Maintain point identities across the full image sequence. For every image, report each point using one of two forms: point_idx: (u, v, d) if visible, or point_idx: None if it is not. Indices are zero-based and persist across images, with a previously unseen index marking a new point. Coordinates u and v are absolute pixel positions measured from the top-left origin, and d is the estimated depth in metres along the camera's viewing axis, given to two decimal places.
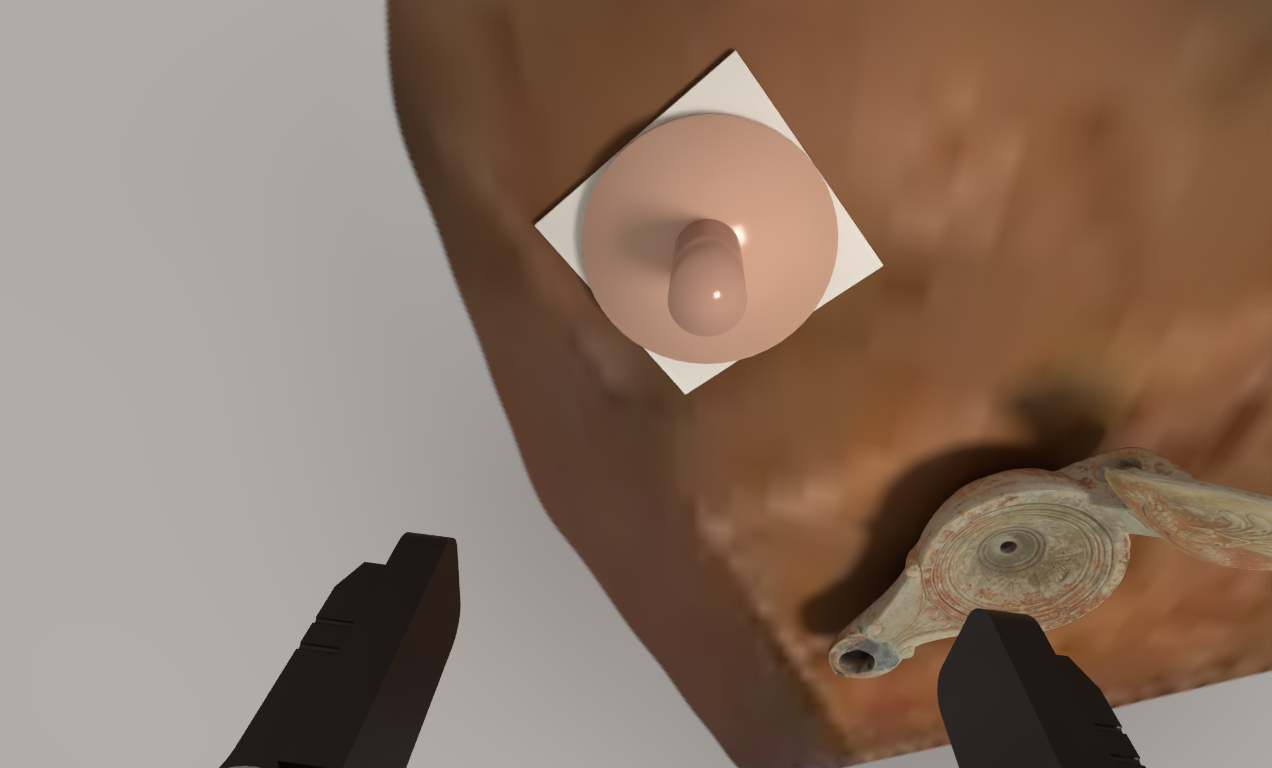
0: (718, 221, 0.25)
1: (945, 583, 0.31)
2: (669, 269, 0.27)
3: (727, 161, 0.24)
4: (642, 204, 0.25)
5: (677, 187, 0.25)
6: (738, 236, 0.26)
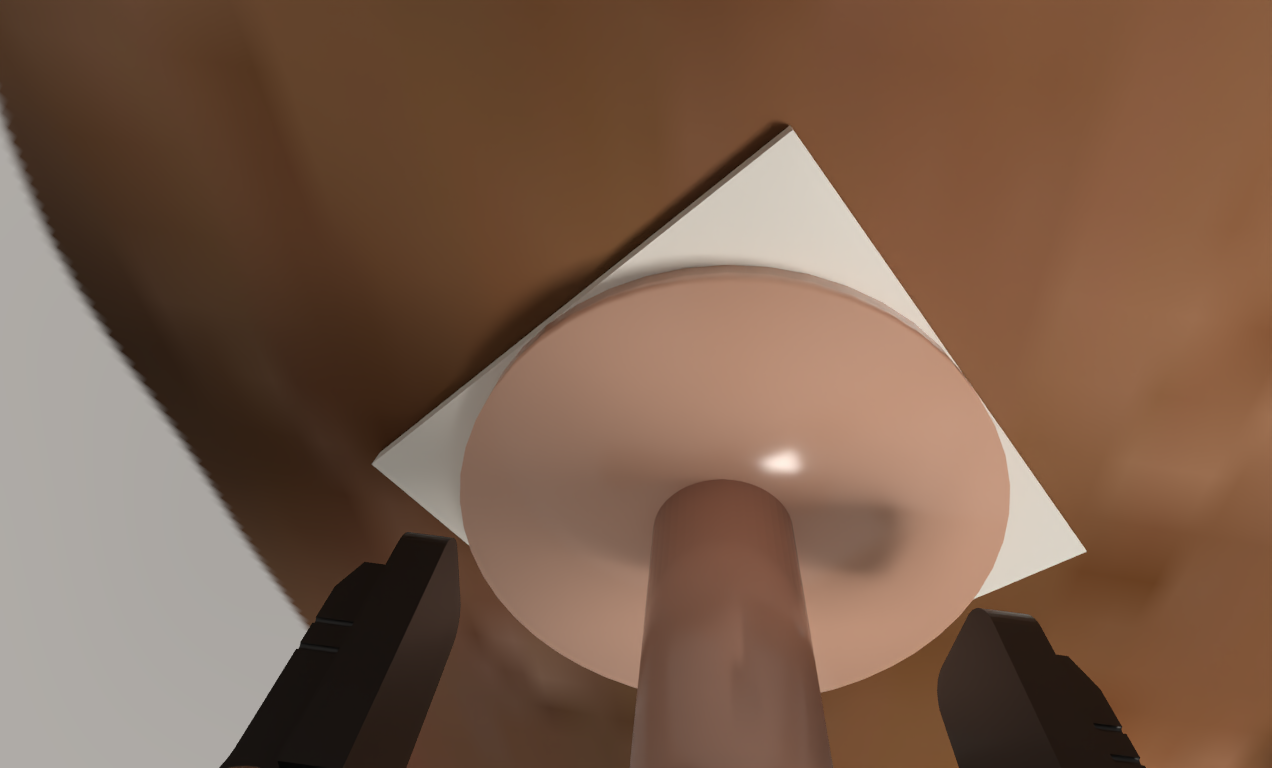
0: (747, 487, 0.12)
1: None
2: (644, 560, 0.13)
3: (769, 375, 0.11)
4: (582, 449, 0.12)
5: (657, 421, 0.11)
6: (789, 511, 0.12)
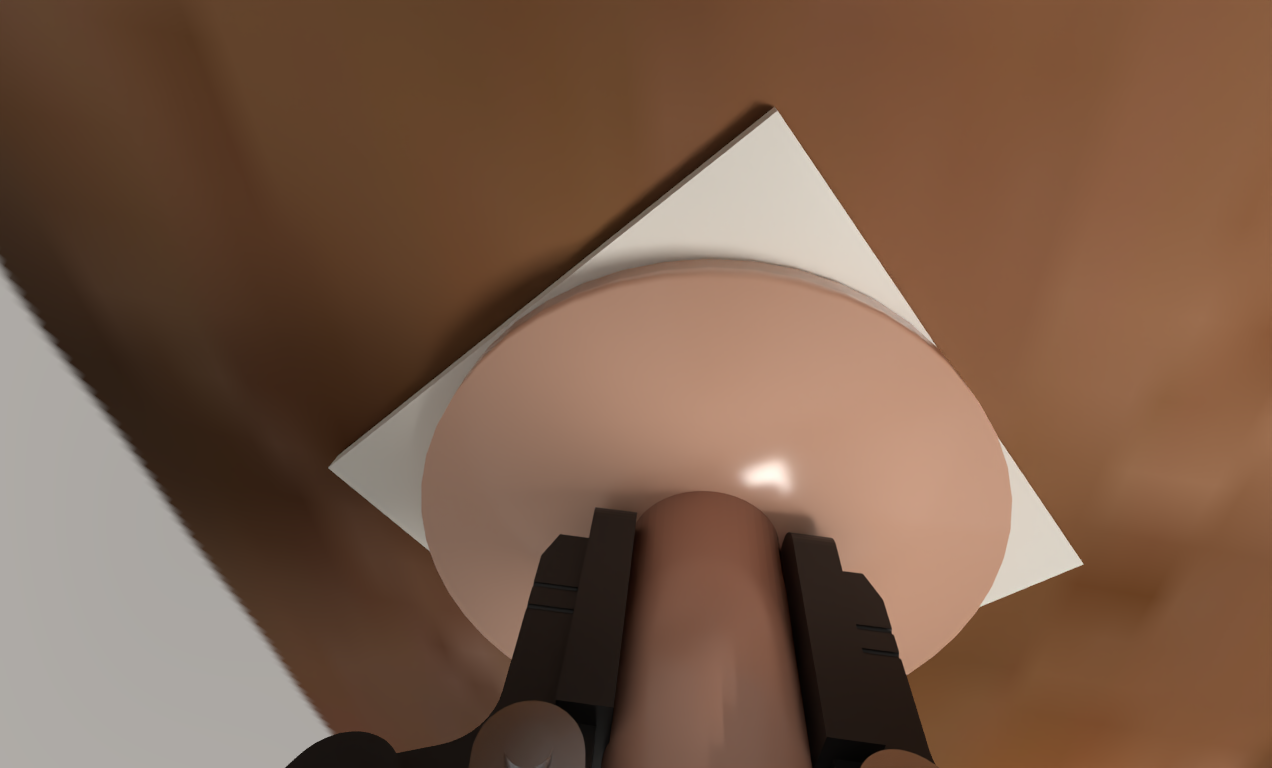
0: (730, 499, 0.11)
1: None
2: None
3: (755, 379, 0.10)
4: (552, 458, 0.11)
5: (633, 428, 0.10)
6: (775, 525, 0.11)
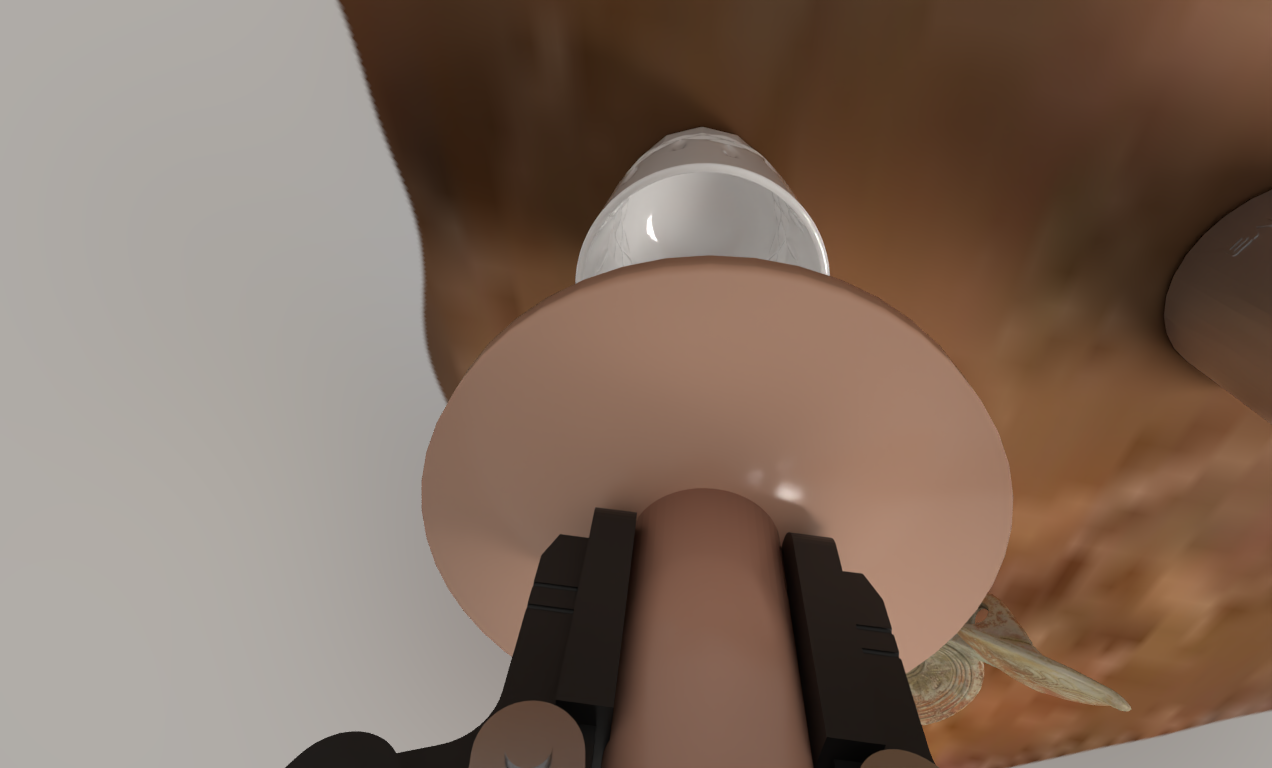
0: (731, 497, 0.11)
1: None
2: None
3: (755, 377, 0.10)
4: (553, 455, 0.11)
5: (633, 425, 0.10)
6: (776, 522, 0.11)
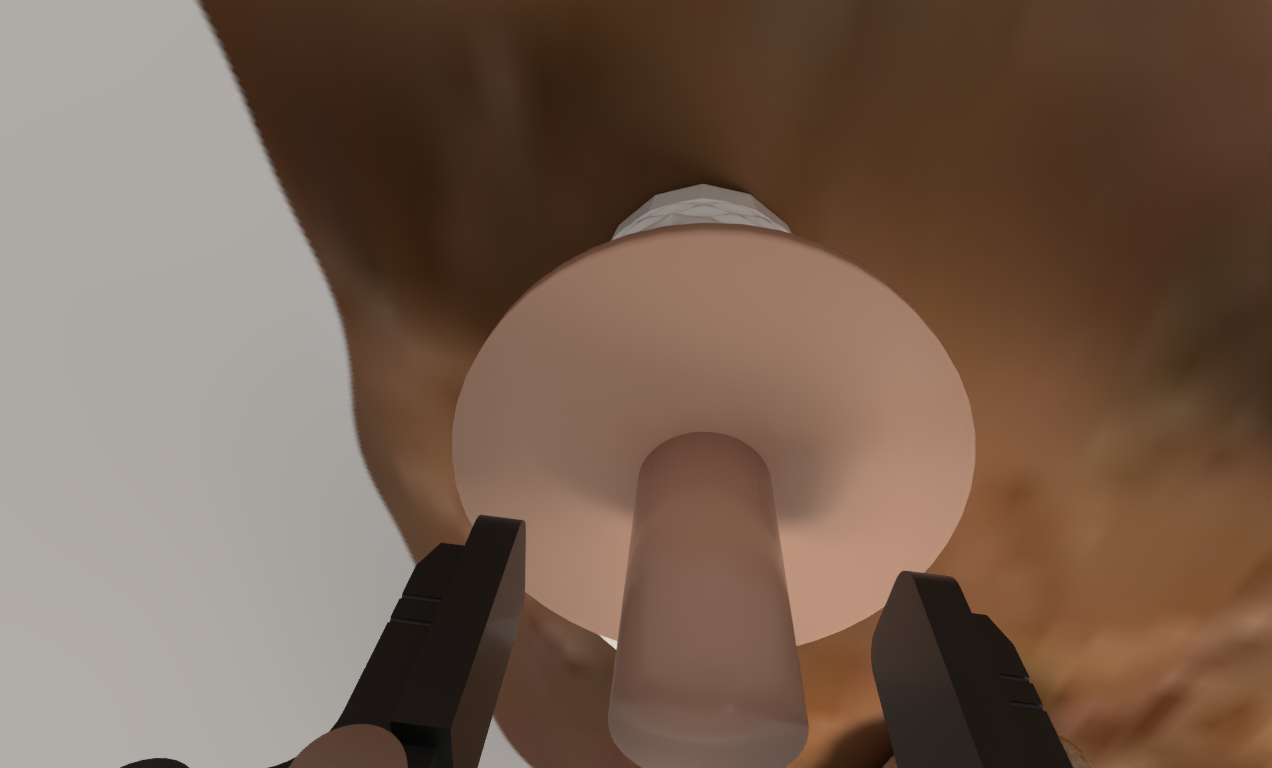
0: (726, 438, 0.12)
1: None
2: (629, 514, 0.13)
3: (745, 327, 0.11)
4: (568, 404, 0.12)
5: (639, 375, 0.12)
6: (767, 462, 0.13)
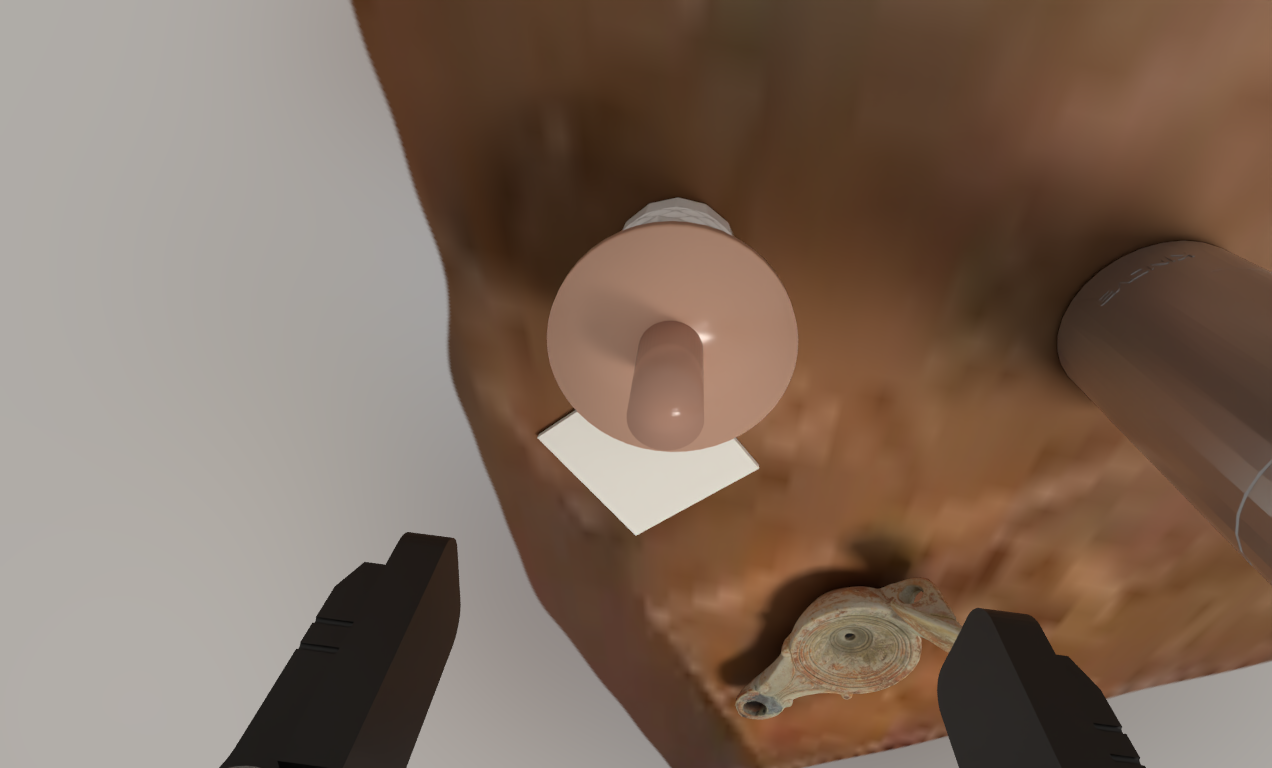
0: (680, 323, 0.26)
1: (807, 661, 0.47)
2: (633, 365, 0.27)
3: (688, 269, 0.25)
4: (606, 306, 0.26)
5: (640, 291, 0.25)
6: (700, 337, 0.26)
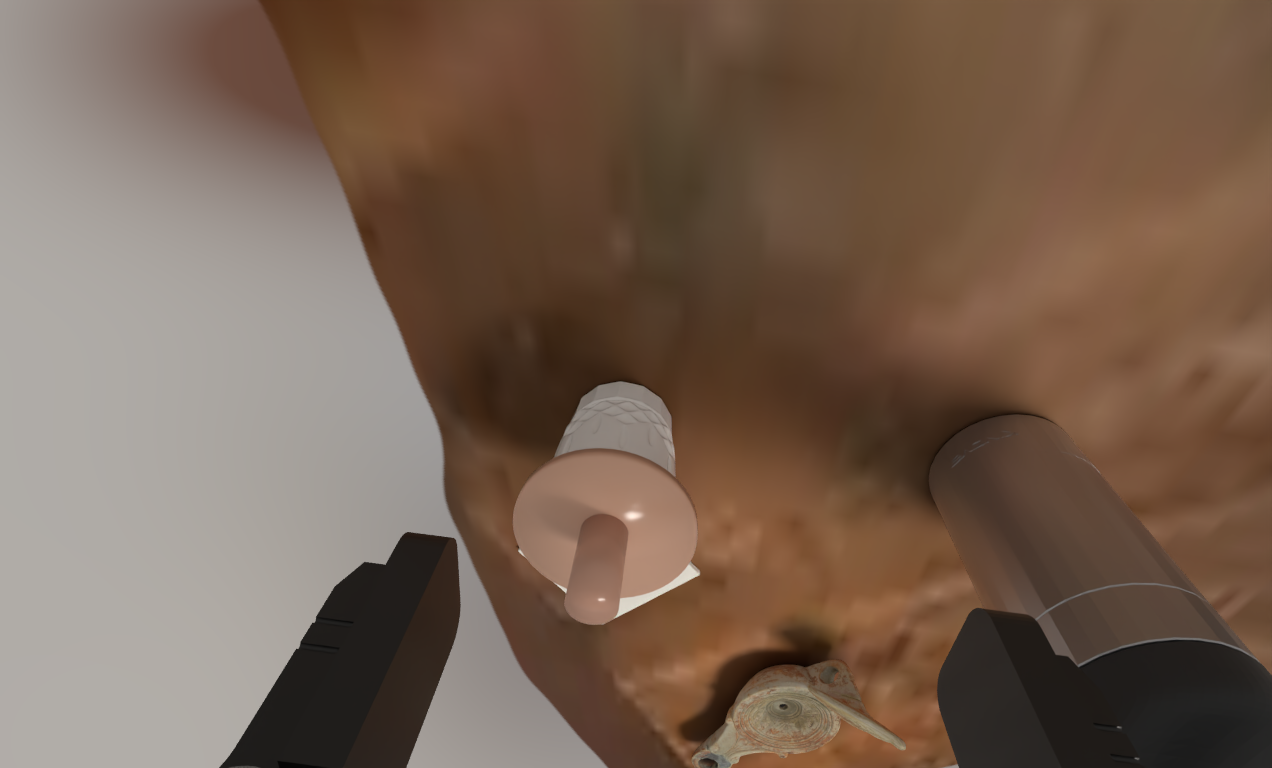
0: (610, 516, 0.35)
1: (748, 727, 0.56)
2: (578, 542, 0.36)
3: (613, 482, 0.34)
4: (555, 504, 0.35)
5: (579, 495, 0.35)
6: (625, 524, 0.35)
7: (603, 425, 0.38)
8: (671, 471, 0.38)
